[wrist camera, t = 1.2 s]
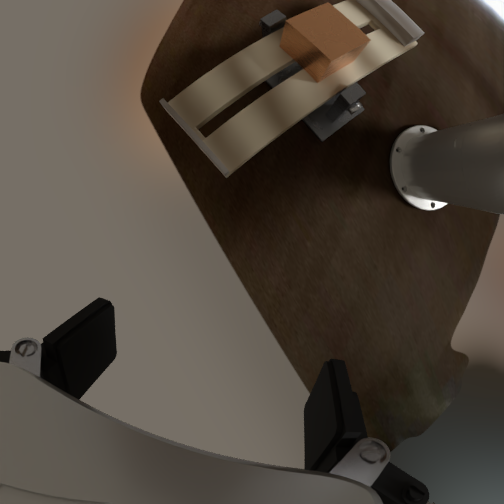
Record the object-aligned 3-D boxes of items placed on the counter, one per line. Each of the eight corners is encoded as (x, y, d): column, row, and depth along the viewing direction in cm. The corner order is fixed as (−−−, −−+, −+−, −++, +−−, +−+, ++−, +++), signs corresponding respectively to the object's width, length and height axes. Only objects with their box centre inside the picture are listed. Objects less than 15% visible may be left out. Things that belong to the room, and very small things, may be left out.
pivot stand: (286, 34, 31) (288, -6, 21) (363, 110, 33) (390, 89, 23) (245, 62, 33) (234, 26, 22) (321, 142, 35) (337, 127, 24)
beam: (363, -2, 23) (372, -16, 20) (413, 47, 25) (427, 36, 21) (166, 110, 25) (156, 97, 22) (226, 178, 27) (223, 172, 23)
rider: (315, 31, 24) (328, 2, 18) (351, 64, 25) (371, 40, 19) (278, 50, 25) (285, 20, 19) (315, 87, 25) (331, 61, 19)
